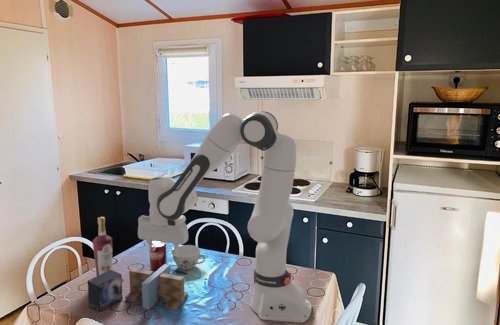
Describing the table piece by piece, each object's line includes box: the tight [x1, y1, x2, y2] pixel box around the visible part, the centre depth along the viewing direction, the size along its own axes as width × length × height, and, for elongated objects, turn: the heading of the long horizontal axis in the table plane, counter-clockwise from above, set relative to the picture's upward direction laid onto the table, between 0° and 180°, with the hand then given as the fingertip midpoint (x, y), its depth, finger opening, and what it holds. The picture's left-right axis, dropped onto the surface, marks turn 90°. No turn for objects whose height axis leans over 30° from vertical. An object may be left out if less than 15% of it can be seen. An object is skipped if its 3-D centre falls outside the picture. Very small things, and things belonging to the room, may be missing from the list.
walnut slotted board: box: [125, 267, 189, 311], centre depth 140 cm, size 22×10×10 cm, turn 73°
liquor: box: [92, 216, 113, 277], centre depth 149 cm, size 7×7×28 cm
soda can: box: [148, 241, 168, 273], centre depth 163 cm, size 7×7×12 cm
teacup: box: [171, 244, 206, 271], centre depth 166 cm, size 15×12×8 cm
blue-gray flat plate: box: [141, 264, 171, 310], centre depth 141 cm, size 16×2×10 cm, turn 163°
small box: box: [87, 269, 123, 313], centre depth 136 cm, size 11×6×10 cm, turn 148°
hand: (163, 251), depth 143 cm, fingers open, 8 cm apart
